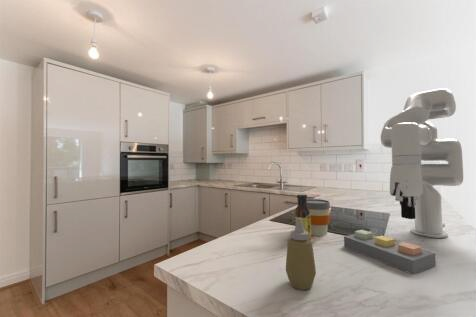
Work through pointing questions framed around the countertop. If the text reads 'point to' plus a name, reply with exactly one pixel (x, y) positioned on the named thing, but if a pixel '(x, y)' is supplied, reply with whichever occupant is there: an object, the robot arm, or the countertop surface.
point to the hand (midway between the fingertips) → (408, 218)
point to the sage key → (363, 234)
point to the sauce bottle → (303, 213)
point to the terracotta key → (409, 249)
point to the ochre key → (384, 241)
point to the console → (391, 254)
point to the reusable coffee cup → (319, 216)
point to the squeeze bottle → (300, 258)
